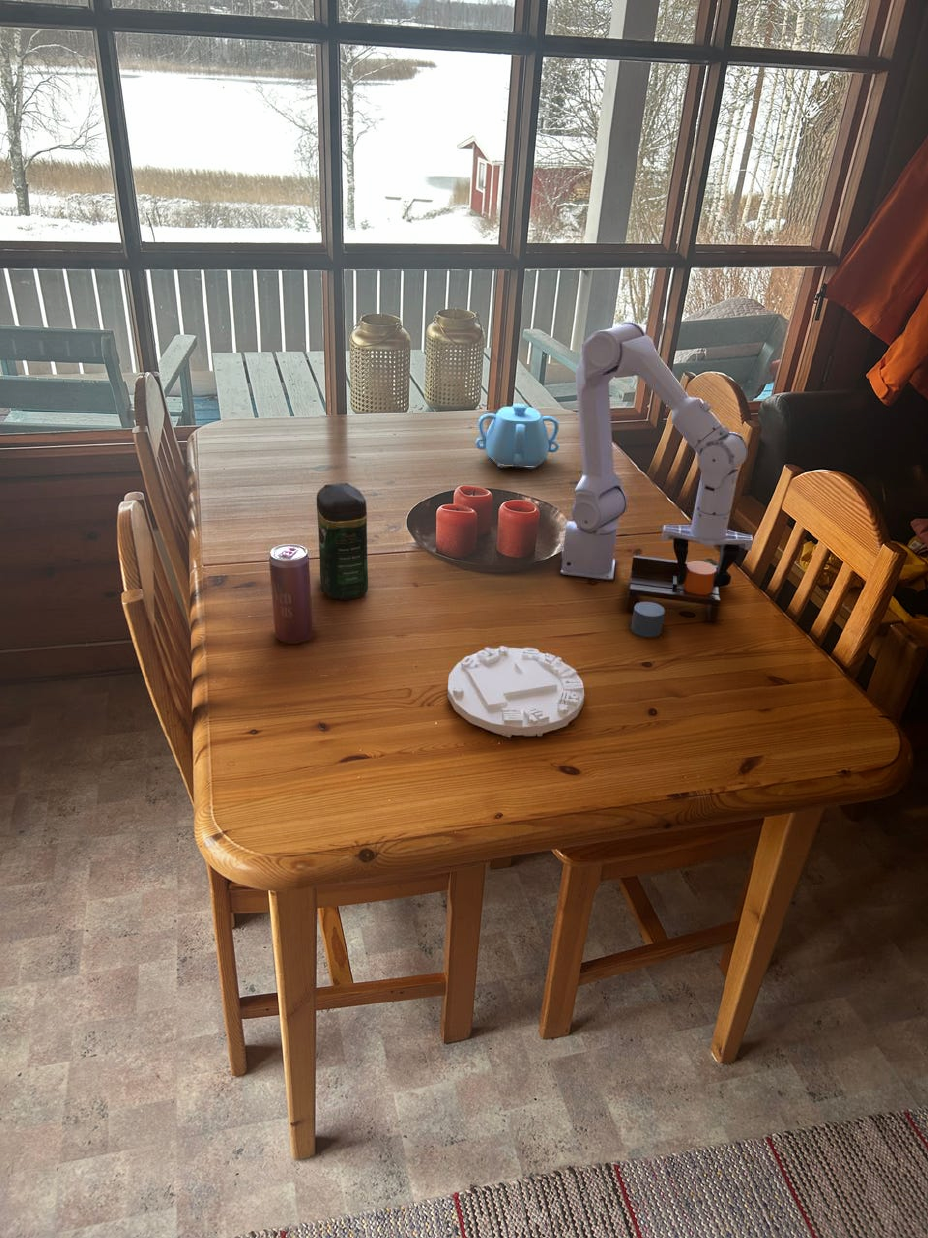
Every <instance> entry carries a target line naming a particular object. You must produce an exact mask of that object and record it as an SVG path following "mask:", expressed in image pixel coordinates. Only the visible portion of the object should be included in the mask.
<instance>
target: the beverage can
mask: <svg viewBox="0 0 928 1238" xmlns="http://www.w3.org/2000/svg"><path fill="white" fill-rule="evenodd" d="M268 564H269V576H270V587H271V588H270V590H271V600H272V601H271V602H272V613H273V626H274V635H275V637H276V638H277V639H278V640H279V641H280V642H281V643H284V644H287V645H299V644H303V643H305V642H308V640H309V639H310V638H311V636H312V635H313V633H314V627H313V610H312V608H313V607H312V591H311V589H312V588H311V575H310V574H311V572H310V557H309V554H308V550H307V548H306V547H305V546H302V545H300V544H294V543H287V544H286V543H285V544H280V545H278V546H274V547H273V548H271V550H270V551H269V558H268Z"/></svg>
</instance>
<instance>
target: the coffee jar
mask: <svg viewBox="0 0 928 1238" xmlns="http://www.w3.org/2000/svg"><path fill="white" fill-rule="evenodd" d="M316 512H317V513H316V514H317V528H318V530H317V531H318V552H319V553H318V555H319V557H318V558H319V581H320V585H321V587H322V590H323V592H324V593H325V595H326V596H328V597H329V598H330V599H336V600H345V601H346V600H347V601H348V600H353V599H356V598H358V597H359V598H360V597H361V596H364V595H366V594H367V593H368V590H369V571H368V567H369V566H368V564H369V563H368V509H367V500H366V497H365V495H363V493H362V492H361V491H360V489H358V488H356V487H355V486H353V485H350V484H349V483H348V482H339V483H328V484H325V485H323V487H321V488H320V489H319V490H318V492H317V494H316Z"/></svg>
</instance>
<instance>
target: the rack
mask: <svg viewBox="0 0 928 1238" xmlns="http://www.w3.org/2000/svg"><path fill="white" fill-rule="evenodd" d="M689 562H690V561H686V563H685V570H684V577H685V572H686V566H687V564H688V563H689ZM714 566H715V567H716V569H717V567H718V566H716V565H714ZM630 570H631V571H630V576H629V582H628V591H627V603H626V613H631V614H633V612H634V607H635V605H636V600H637V599H636V598H637V596H639V597H646V598H654V599H661V600H669V601H677V602H685V603H693V604H701V605H706V606H707V607H706V609H707V623H708V624H716V623H717V618H718V613H719V609H720V607H719V606H720V604H721V598H720V591H719V588H718V586H715V582H714V586H713V590H712V592H711V593H710V594H707V595H696V594H692V593H690V592H688V591H686V590H685V589H684V588H683V583H684V579H683V582H680V581H679V567H678V562H677V560H674V559H665V558H656V557H648V556H642V555H641V556H640V555H633V556H632V562H631V568H630Z"/></svg>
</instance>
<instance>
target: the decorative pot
mask: <svg viewBox="0 0 928 1238" xmlns="http://www.w3.org/2000/svg"><path fill="white" fill-rule="evenodd" d="M489 419H492V421H491V423H490V425H489V427H488V429H487V432H486V433H485V429H484V421H486V420H489ZM547 421H549V422H552V423H553V431H552V432H551V435H550V437H549V433H548V429H547V426H546V422H547ZM477 425H478V427H477V428H478V431H479V434H480V437H479V438H477V439H476V440H475V447H476V448H477V450H480V451H481V450H485V452H486V454H487V456H488V457H489V459H490V458H491V459H492V460H493V461H495V462H497V463H500V464H504V465H513V466H534V467H524V468H525V469H529V470H533V469H536V467H537V466H536V465H538V466H539V464H540V465H541V464H542V463H543V462H544V461H545V459H546V458H547V457H548V455H549V453H551V454H552V453H553V454H554V453H556V452H558V451H559V449H560V448H559V447H560V445H559V442H558V441H555V439H556V436H557V434H558V432H559V430H560V429H559V428H560V423H559V421H558V420H557V419H556V418H555V417H553V416H552V415H543V416H542V414H541V412H540V410H537V409H536V408H534V407H528V406H527V404H524V403H514V404H512V406H503V407H501V408H499V409H498V411H497V412H496V414H495V413H492V412H491V413H490V412H487V413H485V414H483V415H481V416H480V418H479V419H478V424H477ZM480 442H482V444H480ZM552 445H554V447H552ZM491 459H490V460H491ZM492 460H491V461H492ZM493 461H492V462H493ZM496 466H497V467H499V468H502V469H504V468H508V467H509V466H502V465H498V464H496Z"/></svg>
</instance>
